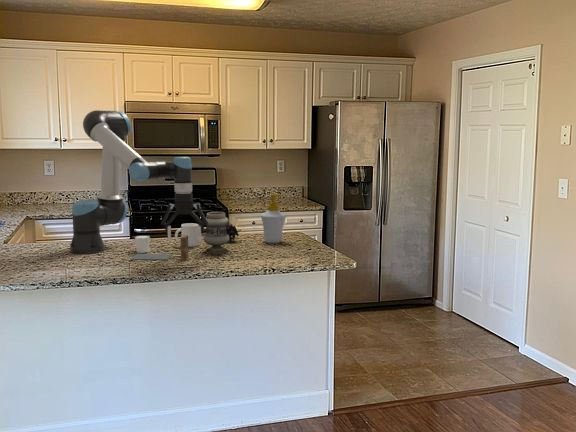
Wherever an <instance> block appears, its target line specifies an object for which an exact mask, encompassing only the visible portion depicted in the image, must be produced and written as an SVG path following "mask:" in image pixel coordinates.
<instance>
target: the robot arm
mask: <svg viewBox="0 0 576 432" xmlns="http://www.w3.org/2000/svg"><path fill="white" fill-rule="evenodd" d="M82 127H83V130H84V133H85V134H86V136H88V138H89V139H90V140H92V141H93V142H95V143H96V142H97V143H99V144H100V145H101V146H102V148H101V149H102V150H101V151H102V152H101V153H102V154H101V177H100V178H101V181H100V182H101V183H100V186H101V187H100V193H99V194H98V195H97V198H96V199H95V198H94V199H93V198H88V199H82V200H78V201H76V202H74V203H73V205H72V206H71V207H72V208H71V215H72V231H73V232H72V239H71V242H70V246H69V252H70V253H72V254H81V255H84V254H86V255H87V254H94V253H95V254H96V253H100V252H103V251H105V243H104V241H103V239H102V235H101V231H100V230H101V228H100V227H102V226H103V227H104V226H109V225H116V224H118V223H119V224H120V223H122V222H123V221H124V220H125V219H126V218H127V215H128V205H127V203H126V200H124V198H123V196H122V195H121V171H122V168H121V167H122V165H124V167H126V168H127V169H128V175H129V176H130V179H132V180H133V181H140V182H145V181H151V180H162V179H174V185H173V186H174V192H175V193H174V204H173V203H168V204H167V209H166V211H165V213H164V216H163V218H162V219H161V222H160V226H164V230H165V233H164V234H166V235H167V242H171V241H172V231H171V229H172V227H171V225H170V224H171V223H172V221H174V219H175V218H176V217H177V216H178V215H188V214H189V215H190V216H191V217H192V218H193V219H194V220H195V221H196V222H197V224H198V228H199V242H202V241H203V237H202V236H203V235H202V234H204V233H205V226H206V225H207V224H208V221H207V219H206V216H205V213H204V212H203V210H202V208H201V204H200V203H194V201H193V199H194V198H193V193H192V192H193V178H192V177H193V173H192V172H193V171H192V170H193V166H192V165H193V164H192V159H191V158H190V157H189V156H175V157H174V158H173V161H172V160H171V161H169V160H168V161H167V160H157V161H147V160H146V159H145V158H143V157H142V156H141V155H140V154H139V153H137V151H135V150H134V149H133V148H132V147H131V146H130V145H128V144H127V143H126V137H127V136H128V135H129V134H130V133H131V131H132V123H131V120H130V118H129V117H128V115H127V114H126V113H125V112H123V111H119V110H118V111H117V110H97V109H95V110H92V111H89V112H88V113H87V114H86V115H85V116H84V118H83V121H82ZM194 208H195V209H196V211H197V212H198V214H199V216H200V217H198V215H197V214H196V213H195V211H194V210H193V209H194ZM173 209H175V210H176V211H174V213H173V214H172V215H171V217H169V215H170V214H171V211H172V210H173ZM168 217H169V219H168ZM200 218H201V219H200ZM167 219H168V220H167ZM203 222H204V223H203Z"/></svg>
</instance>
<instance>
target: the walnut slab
mask: <svg viewBox="0 0 576 432" xmlns="http://www.w3.org/2000/svg"><path fill="white" fill-rule="evenodd" d="M180 240H181V243H180V261H187V260H188V259H189V247H188V235H183V236H180Z"/></svg>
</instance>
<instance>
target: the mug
mask: <svg viewBox="0 0 576 432" xmlns="http://www.w3.org/2000/svg"><path fill="white" fill-rule="evenodd" d="M180 232H181V236H180V237H182V236H183V235H188V248H193V247H198V246H199V245H200V241H199V223H192V222H191V223H190V222H189V223H187V222H186V223H182V224H181V227H180V228H178V229H177V230H176V231H175V232H174V239H175V241H176V242H177V243H179V244H181V239H180V238H178V235H179V233H180Z"/></svg>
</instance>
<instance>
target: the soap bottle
mask: <svg viewBox="0 0 576 432" xmlns="http://www.w3.org/2000/svg"><path fill="white" fill-rule="evenodd" d="M268 195H269V196H270V199H271V201H270V202H269V205H267V210H266V211H265V212H263V213H261V214H260V219H261V221H262V227H263V241H264V242H265V243H268V244H278V243H281V242H282V240H283V228H284V223H285V219H286V217H287V216H286V214H285V213H283V212H281V211H280V210H279V205H278V204H277V201H275V200H276V198H277V197H281V196H285V193H268Z"/></svg>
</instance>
